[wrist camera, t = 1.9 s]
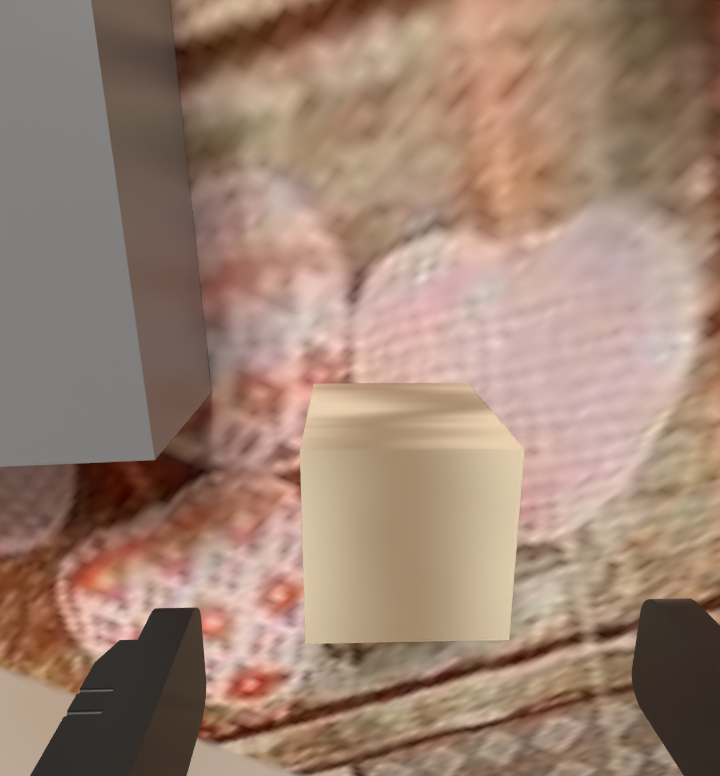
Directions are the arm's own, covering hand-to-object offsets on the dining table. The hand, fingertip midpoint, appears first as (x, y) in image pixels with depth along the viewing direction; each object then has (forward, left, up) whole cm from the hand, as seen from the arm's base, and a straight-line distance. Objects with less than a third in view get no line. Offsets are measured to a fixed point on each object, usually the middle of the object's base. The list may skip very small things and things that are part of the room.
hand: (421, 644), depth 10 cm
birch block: (0, 0, -9) cm, 9 cm away
